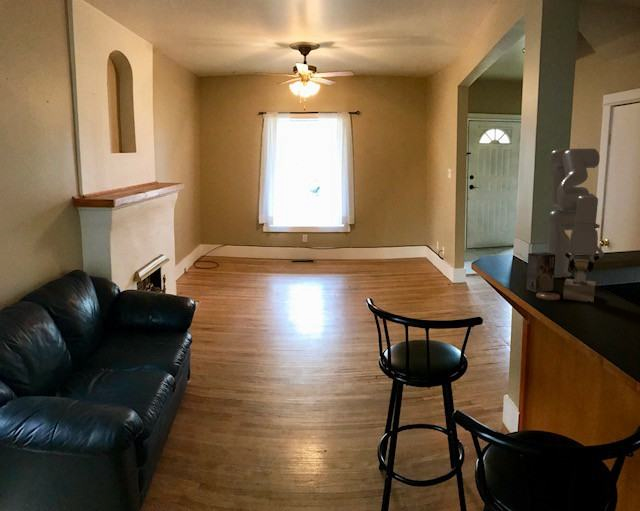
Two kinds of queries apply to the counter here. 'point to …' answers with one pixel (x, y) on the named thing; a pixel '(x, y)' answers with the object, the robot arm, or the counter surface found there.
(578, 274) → the pin
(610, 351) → the counter surface
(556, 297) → the coaster
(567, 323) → the counter surface
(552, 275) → the coffee box
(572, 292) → the eye block
